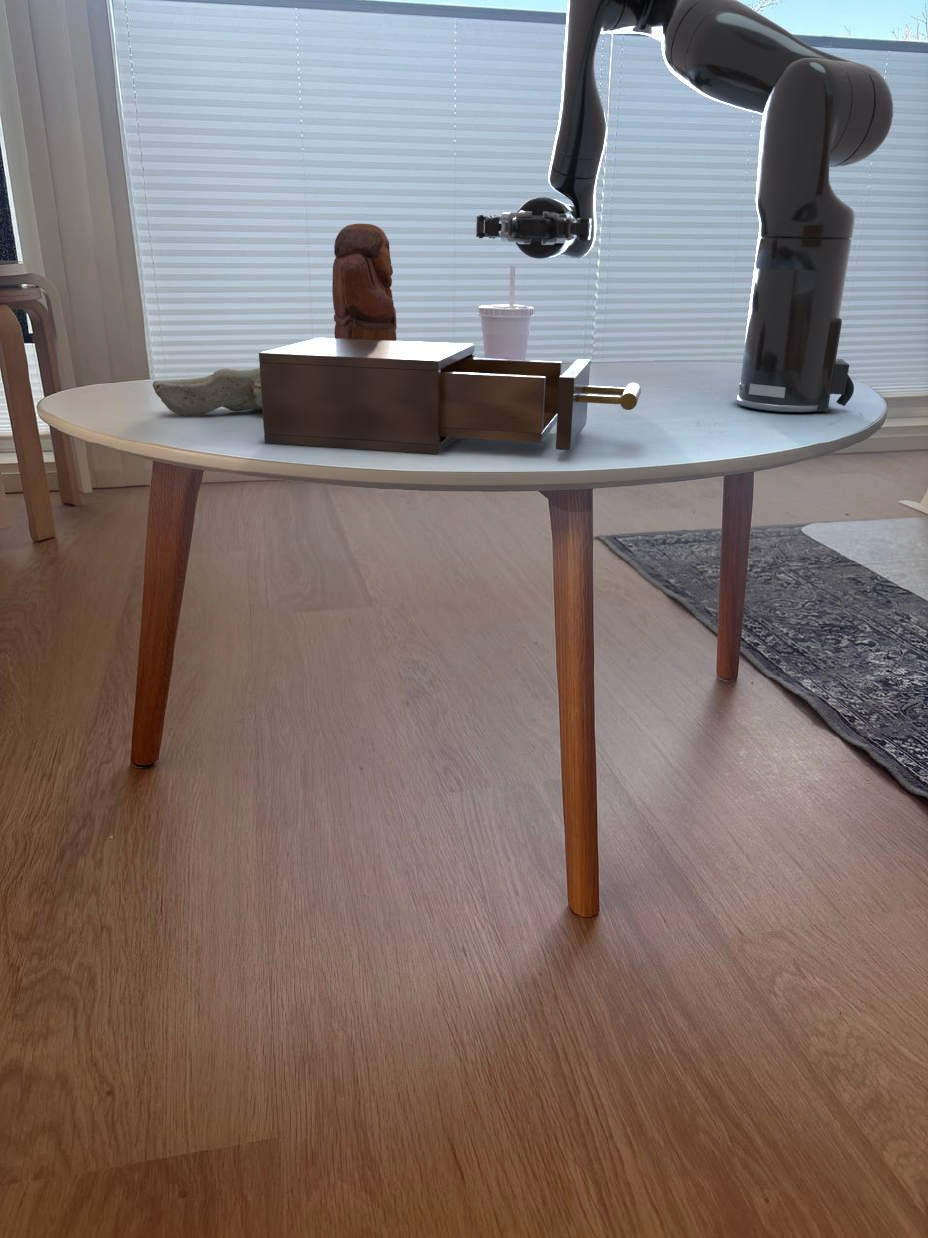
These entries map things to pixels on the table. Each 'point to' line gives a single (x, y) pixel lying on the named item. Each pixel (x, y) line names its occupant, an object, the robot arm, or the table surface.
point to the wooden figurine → (363, 285)
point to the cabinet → (357, 393)
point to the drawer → (521, 400)
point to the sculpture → (212, 392)
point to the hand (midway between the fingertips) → (525, 227)
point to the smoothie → (506, 327)
